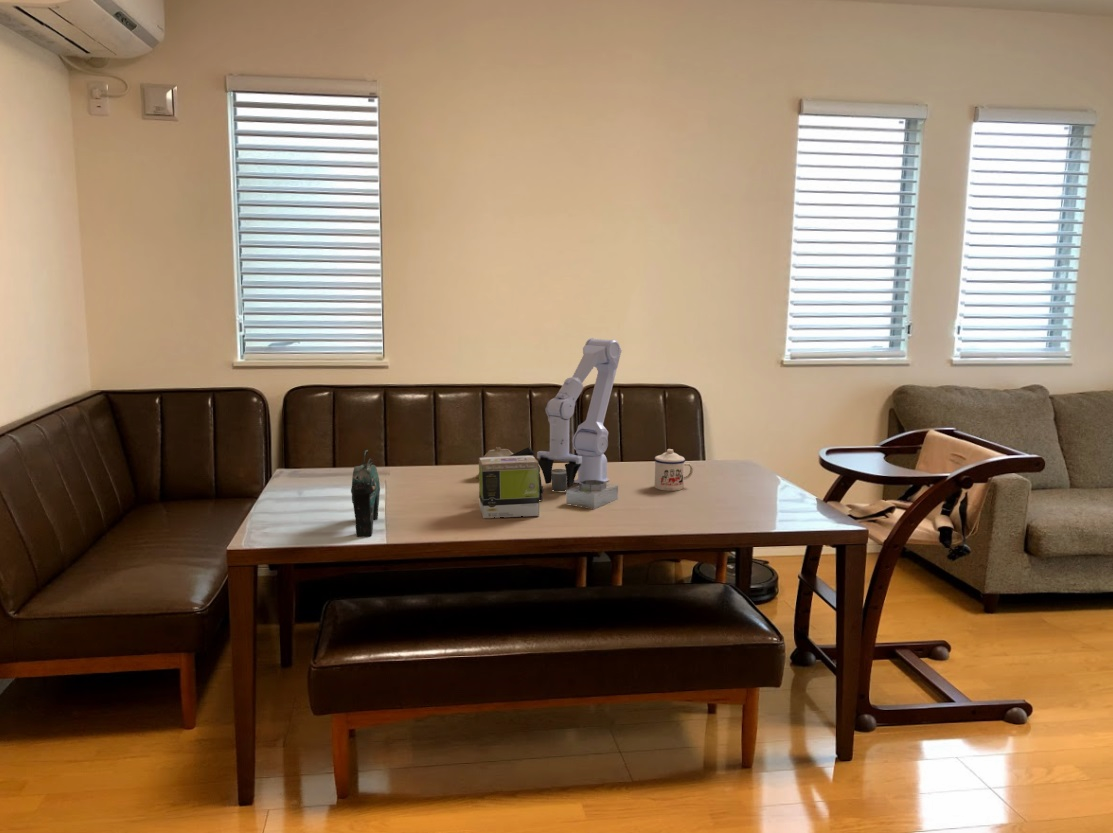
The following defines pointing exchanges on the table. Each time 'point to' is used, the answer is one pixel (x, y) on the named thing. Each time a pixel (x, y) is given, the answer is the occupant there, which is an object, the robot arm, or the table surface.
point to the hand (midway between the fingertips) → (559, 484)
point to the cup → (559, 479)
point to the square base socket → (592, 494)
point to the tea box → (509, 486)
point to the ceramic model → (497, 454)
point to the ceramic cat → (365, 497)
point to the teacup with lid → (670, 471)
